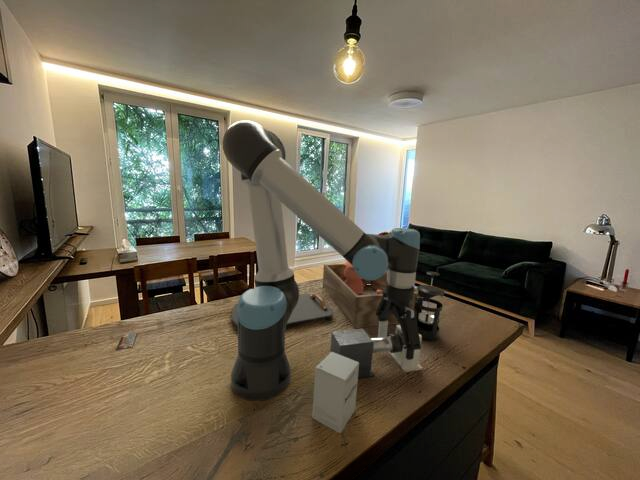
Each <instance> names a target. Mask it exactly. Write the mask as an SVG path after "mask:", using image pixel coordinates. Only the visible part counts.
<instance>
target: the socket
mask: <svg viewBox="0 0 640 480" xmlns="http://www.w3.org/2000/svg"><path fill="white" fill-rule="evenodd" d="M395 325H396V326H395V333H397V334H399V335H403V334H402V330H401V326H400V324H395ZM419 338H420V344H422V341H423V340H422V336H421V335H420V334H419ZM402 353H403V349H402V351H401V352H397V353H391V352H389V351H388V354H389V355H390V357H392V359H393V360H394V361H395V362H396V363H397V365H398V366H399V367H400V368H401V362H402ZM420 355H421V349H418V350H414V357H413V359H412V366H411V368H408V369H402V370H403V372H404V373H408V372H415V371H422V370H423V368H424V367H422V366H421V364H420V363H419V361H420Z"/></svg>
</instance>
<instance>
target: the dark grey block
mask: <svg viewBox="0 0 640 480" xmlns="http://www.w3.org/2000/svg"><path fill="white" fill-rule="evenodd" d="M371 338H372V337H370V336H369V334H368V333H367V332H366V331H365V329H363V328H353V329H344V330H334V331H331V338H330V339H331V340H330V352H334V353H336V354H339V355H342V356H344V357H347V358H349V359H352V360H354V361H357V362H359V370H358V380H363V379H370V378H375V376H376V375H375V373H374V371H373V370H372V363H373V354H374V353H373V343H374V342H373V340H372V339H371Z"/></svg>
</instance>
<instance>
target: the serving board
mask: <svg viewBox="0 0 640 480" xmlns="http://www.w3.org/2000/svg"><path fill="white" fill-rule="evenodd" d="M237 307H238V303H235V304H234V305H233V307H232V309H231V310H230V319H231V322H232V323H233V324H234V325H235V326H236V327H237V328H238V321H237ZM333 314H334V313H333V309H332V308H331V306H330V305H329V304H328V302H326V301H325V300H324V299H323V297H321V295H320V294H318V293H313V294H310V293H304V294H299V299H298V303H297V305H296V307H295V308H294V310H293V312H292V314H291V316H290V318H289V320H288V322H287V324H286V326H288V325H292V324H298V323H305V322H308V321H314V320H318V319H319V320H320V319H324V318H325V320H331V318H332V316H333Z"/></svg>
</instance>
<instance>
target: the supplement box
mask: <svg viewBox="0 0 640 480" xmlns="http://www.w3.org/2000/svg"><path fill="white" fill-rule="evenodd" d="M358 370H359V362H357V361H354V360H352V359H349V358H347V357H344V356H342V355H339V354H336V353H334V352H331V351H330V352H329V354H327V356H326V357H324V359H322V360H321V361H320V362H319V363H318V364H317V365H316V366H315V367H314V380H313V381H314V382H313V397H312V398H313V399H312V413H311V414H312V416H311V417H312V419H314V420H316V421H317V422H319V423H321V424H323V426H326V427H328V428H329V429H331V430H333V431H335V432H337V433H338V434H342V432H343V431H344V429H345V427H346V425H347V424H348V422H349V420H350V419H351V417H352V415H353V414H354V412H355V411H356V402H357V392H358V391H357V390H358V381H359V379H358Z"/></svg>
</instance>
